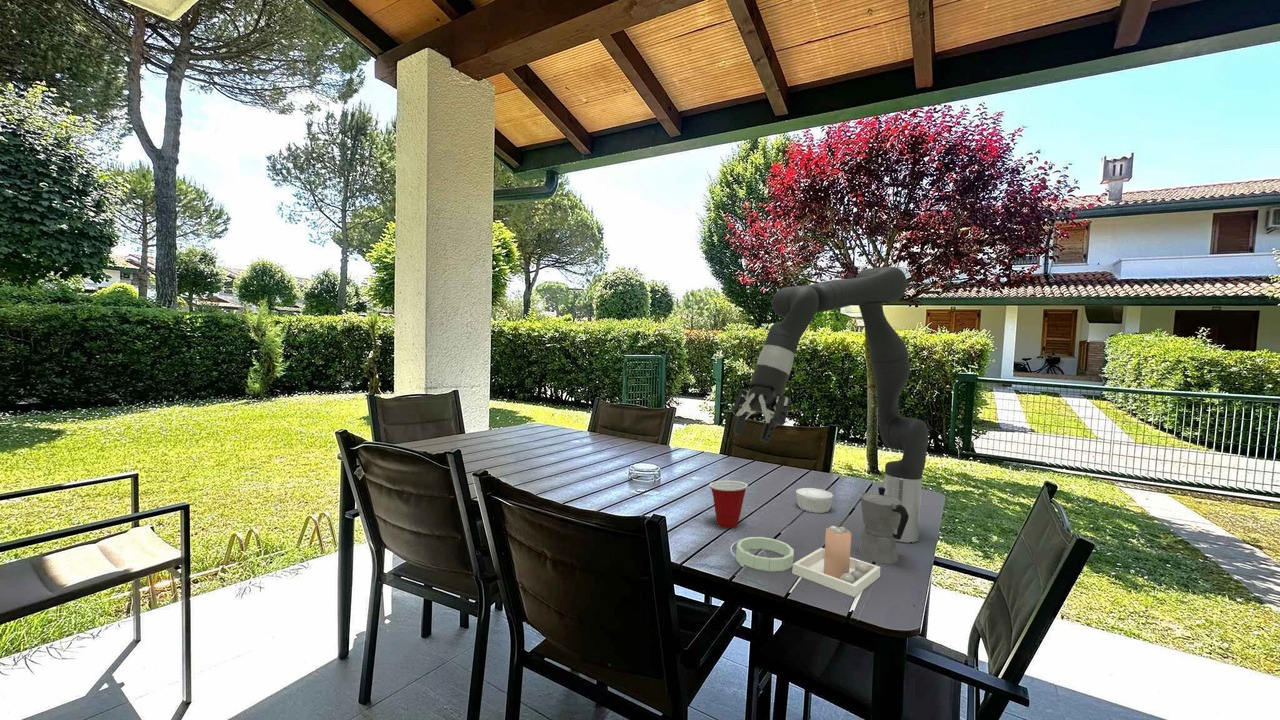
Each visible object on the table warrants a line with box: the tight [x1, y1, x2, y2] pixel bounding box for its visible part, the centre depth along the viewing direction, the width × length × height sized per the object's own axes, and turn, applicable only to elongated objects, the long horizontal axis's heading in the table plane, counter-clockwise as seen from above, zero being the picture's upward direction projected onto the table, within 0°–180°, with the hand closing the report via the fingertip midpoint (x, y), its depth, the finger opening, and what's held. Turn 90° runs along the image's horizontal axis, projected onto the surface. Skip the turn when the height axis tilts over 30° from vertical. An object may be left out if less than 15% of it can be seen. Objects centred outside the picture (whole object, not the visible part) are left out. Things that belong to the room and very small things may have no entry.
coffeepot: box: [857, 486, 909, 565], centre depth 127 cm, size 15×9×18 cm, turn 14°
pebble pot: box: [823, 525, 852, 579], centre depth 117 cm, size 5×5×11 cm
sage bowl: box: [735, 536, 795, 572], centre depth 124 cm, size 13×13×4 cm
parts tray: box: [791, 547, 881, 598], centre depth 117 cm, size 14×14×4 cm
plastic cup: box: [709, 480, 748, 529], centre depth 148 cm, size 11×11×12 cm
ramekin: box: [795, 487, 834, 514], centre depth 166 cm, size 11×11×5 cm
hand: (749, 437), depth 114 cm, fingers open, 8 cm apart
